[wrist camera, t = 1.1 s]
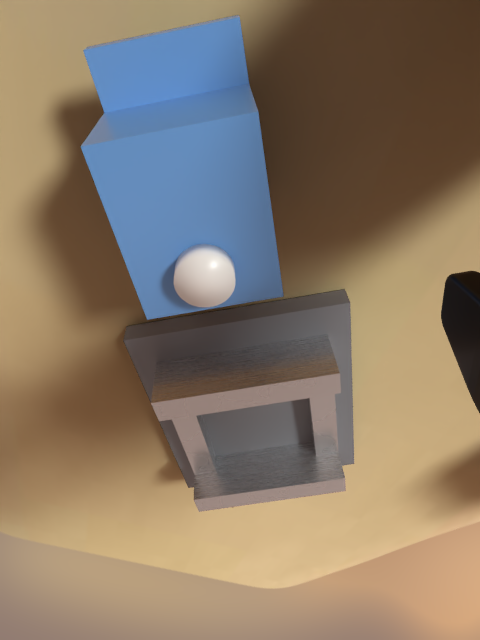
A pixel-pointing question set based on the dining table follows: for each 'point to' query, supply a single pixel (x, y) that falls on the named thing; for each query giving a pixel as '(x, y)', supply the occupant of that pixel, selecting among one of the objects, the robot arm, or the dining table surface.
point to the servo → (184, 168)
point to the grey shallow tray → (253, 397)
